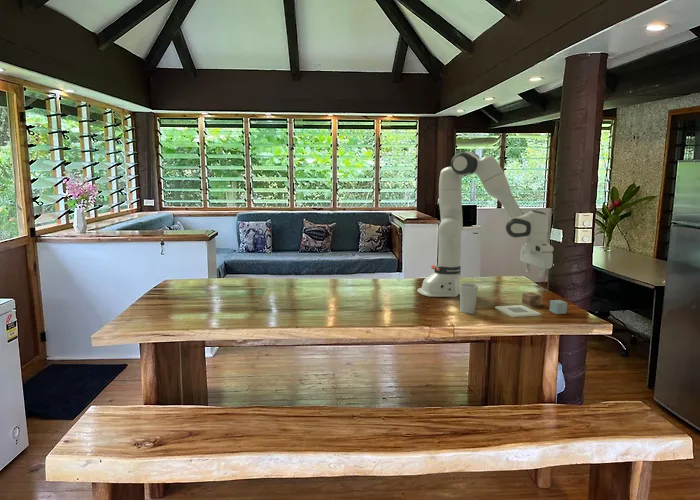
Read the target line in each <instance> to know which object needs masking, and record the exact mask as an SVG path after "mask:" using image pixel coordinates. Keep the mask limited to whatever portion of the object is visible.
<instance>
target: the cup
mask: <svg viewBox="0 0 700 500" xmlns="http://www.w3.org/2000/svg"><path fill="white" fill-rule="evenodd" d="M478 290H479V285H478V284H475V283H467V282H465V283H460V294H459V304H460V305H459V307H460V309H459V311H460V312H461V313H464V314H474V313H475V311H476V305H477V295H478Z"/></svg>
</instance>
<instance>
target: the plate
mask: <svg viewBox="0 0 700 500" xmlns="http://www.w3.org/2000/svg"><path fill="white" fill-rule="evenodd" d="M494 309H496V310H498V311H499V312H501V313H503V314H505V315H507V316H509V317H511V318H523V317H525V318H526V317H536V316H542V314H541V313H540V312H538V311H536V310H534V309H532V308H530V307H529V306H528V307H527V306H525V305H523V304H515V305H498V306H494Z"/></svg>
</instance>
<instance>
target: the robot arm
mask: <svg viewBox="0 0 700 500" xmlns="http://www.w3.org/2000/svg"><path fill="white" fill-rule="evenodd" d="M450 161H451V162H450V166H446V167H444V168H442V169H441V170H440V173H439V174H440V175H439V180H438V202H439V204H438V205H439V215H440V222H439V225H438V231H437V233H438V235H437V236H438V237H437V238H438V243H437V244H438V259H437V264H436V265H434V264H432V265H431V267H430V268H431V269H432V270H434V271H433V272H432V273H431V274H429V275H428V276H427V277H425V278H424V279H423V280H422V284H421V285H422V286H421V287H419V288H417V293H419V294H421V295H423V296H425V297H430V298H431V297H432V298H433V297H436V298H437V297H443V298H444V297H454V298H455V297H458V296H460V284H461V278H460V276H461V269H462V267H461V253H462V252H461V250H462V249H461V248H462V246H461V245H462V243H461V241H462V240H461V239H462V231H463V228H464V227H463V225H464V223H463V219H464V218H463V204H462V200H463V199H462V198H463V197H462V180H463V178H464V177H467V176H469V175H470V176H471V175H473V174H475V175H476V176H477V177H478V178H479V180H480V182H481V184H482V186H483V188H484V189H485V191H486V192H487V194H488V195H489V196H490V197H492V198H494V199H496V200H497V201H498V202H499V203H500V204H501V206H502V207H503V209H504V210H505V212H506V214H507V216H508V217H509V220H508V221H507V223H506V225H505V230H506V233H507V234H508V235H509V236H510V237H512V238H525V237H526V242H524V243H523V244H522V246H521V249H520V254H519V260H520V262H522V263H524V267H525V272H526V273H532V268H531V265H532V266H535V267H539V270H540V271H539V272H538V273H537V276H538V277H540V278H542V277H544V273H545V271H546V270H547V269H551V268H552V267H553V264H554V263H553V261H554V255H553V251H554V249H555V247H554V246H552V245H551V244H550V243H549V242H548V238H547V233H548V226H549V221H548V215H547V214H546V212H544V211H540V210H535V209H532V210H530V211H528V212H526V213H524V212H522V210H521V209H520V206H519V204H518V203H517V200H515V198H514V195H513V193H512V190H511V188H510V184H509V182H508V179H507V176H506V174H505V173H504V170H503V168H502V167H501V165H500V164H499V162H498V160H497V159H496V158H495V157H494V156H492V155H485V156H482V157H480V156H479V155H478V154H477V153H475V152H471V151H461V152H458V153H456V154H455V155H454V156H452V158H451V160H450Z"/></svg>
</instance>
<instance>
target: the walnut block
mask: <svg viewBox="0 0 700 500" xmlns="http://www.w3.org/2000/svg"><path fill="white" fill-rule="evenodd" d="M521 299H522V300H521V303H522V304H524V305H526V306H528V307H539V306H541V305H542V304H541V303H542V295H541V294H539V293H537V292H534V291H533V292H522V298H521Z"/></svg>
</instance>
